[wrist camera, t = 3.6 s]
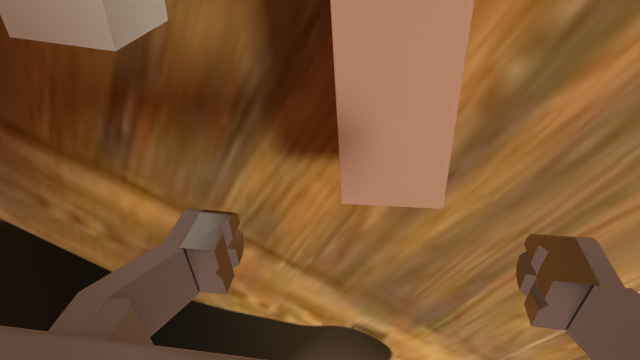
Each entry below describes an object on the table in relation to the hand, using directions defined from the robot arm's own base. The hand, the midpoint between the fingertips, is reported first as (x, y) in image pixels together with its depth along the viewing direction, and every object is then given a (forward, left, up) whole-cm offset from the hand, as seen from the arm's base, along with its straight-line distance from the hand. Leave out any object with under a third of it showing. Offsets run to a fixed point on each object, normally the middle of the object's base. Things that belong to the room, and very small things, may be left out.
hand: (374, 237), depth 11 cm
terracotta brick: (-1, 0, -12) cm, 12 cm away
